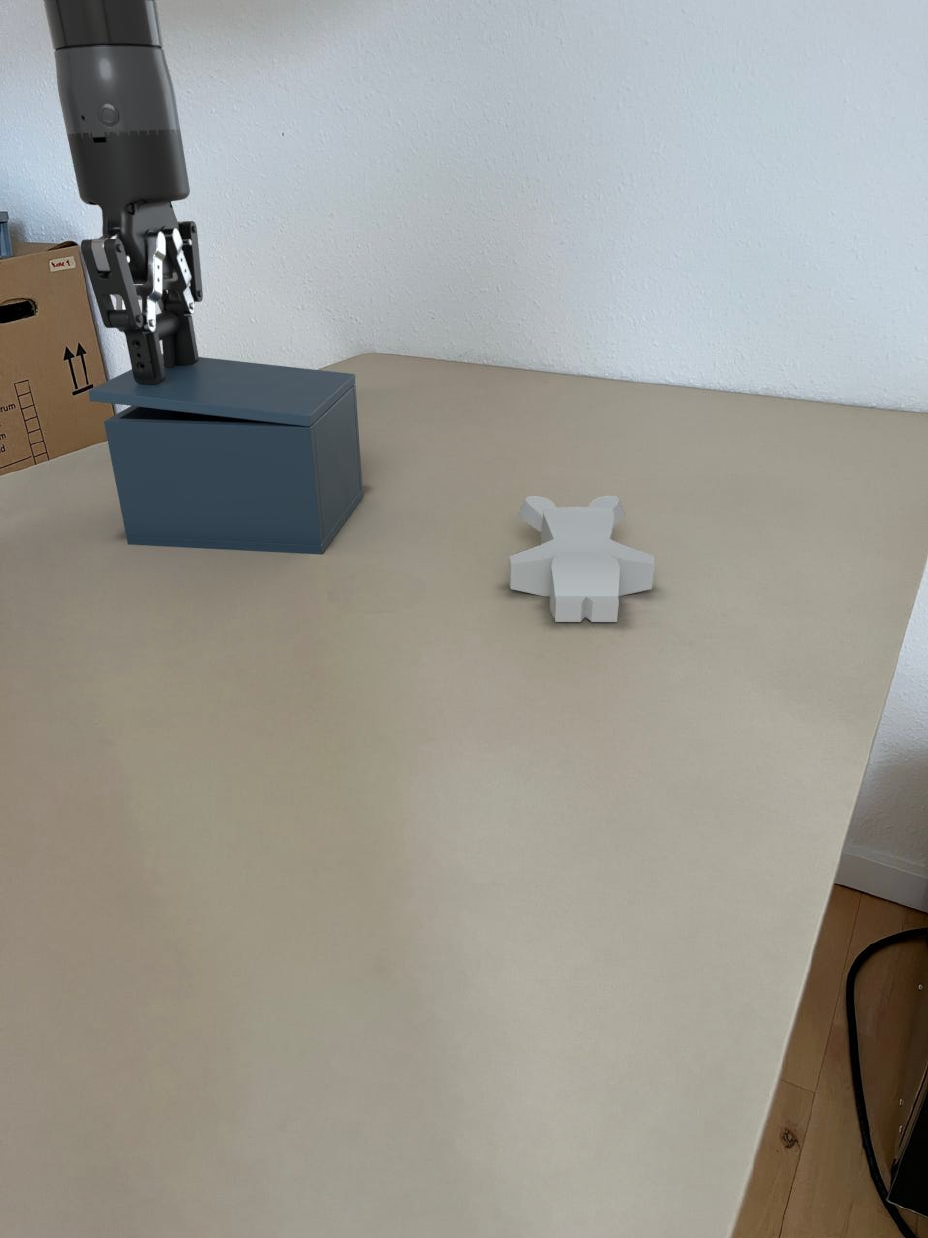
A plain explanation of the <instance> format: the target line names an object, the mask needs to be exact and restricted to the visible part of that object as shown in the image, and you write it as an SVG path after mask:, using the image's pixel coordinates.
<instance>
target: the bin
mask: <svg viewBox="0 0 928 1238" xmlns="http://www.w3.org/2000/svg"><path fill="white" fill-rule="evenodd" d="M358 415H359V414H358V401H357V386H356V384H354V385H353V386H352V387H351V388H350V389H349V390H348V391H347V392H346V393H345V394H344V395H342V396H341V397H340V398H339V399H338V400H337V401H336V402H335V403H334V404H333V405H332V406H331V407H330V408H329V409H328V410H327V411H326V412H324V413H323V414H322V415H321V416H320V417H319V418H318V419H317V420H316V421H315V422H314V423H313V424H312V425H311V426H309V427H308V426H300V425H291V424H283V423H274V422H266V421H257V420H249V419H240V418H231V417H223V416H214V415H206V414H197V413H189V412H180V411H172V410H163V409H154V408H146V407H137V406H129V407H127V408H125V409H123V410H121V411H119V412H118V413H116V414H114V415H112V416H111V417H109V418H107V419H105V420H103V425H104V430H105V434H106V435H105V436H106V439H107V445H108V450H109V455H110V461H111V465H112V472H113V475H114V480H115V486H116V489H117V496H118V501H119V506H120V512H121V517H122V521H123V527H124V532H125V536H126V537H125V538H126V542H127V545H128V546H131V545H132V546H149V547H167V548H168V547H169V548H184V549H185V548H187V549H206V550H226V551H246V552H264V553H283V554H300V555H301V554H304V555H321V556H322V555H323V554H324V553H325V551H326V550H327V549H328V547H329V546H330V545H331V543H332V541H334V539H335V538H336V536H337V535H338V533H339V532H340V530H341V529H342V527H343V526H344V524H346V522H347V521H348V519H349V517H350V516H351V515H352V513H353V512H354V511H355V509H356V508H357V506H358V505H359V504H360V502H361V501H362V499H363V498H364V490H363V475H362V474H363V473H362V461H361V446H360V431H359V417H358Z"/></svg>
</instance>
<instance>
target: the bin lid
mask: <svg viewBox="0 0 928 1238" xmlns="http://www.w3.org/2000/svg"><path fill="white" fill-rule="evenodd" d="M179 328H180V322H179V319H178V317H177V316H176V315H175V314H174V313H172V312H169V311H164V312H162V313H161V312H160V313H156V328H155V331H158V336H159V342H161V345H162V347H161V348H162V358H163V364H164V369H165V374H166V379H165V381H163V382H162V383H160V384H157V385H142V384H138V383H137V382H136V381H135V380H134V376H133V371H132V368H131V369H128V370H127V371H125V372H123V373H120V374H119V375H117V376H115V377H113V378H111V379H109V380H107V381H105V382H103V383H100V384H99V385H96V386H95V387H92V388H90V389H89V390H88V396H89V397H88V398H89V401H90V402H94V403H104V404H112V405H119V406H120V405H121V406H129V407H130V406H137V407H146V408H154V409H163V410H172V411H180V412H189V413H197V414H206V415H214V416H223V417H231V418H240V419H249V420H257V421H266V422H274V423H283V424H291V425H300V426H308V427H309V426H311V425H312V424H313V423H314V422H315V421H316V420H317V419H318V418H319V417H320V416H321V415H322V414H323V413H324V412H326V411H327V410H328V409H329V408H330V407H331V406H332V405H333V404H334V403H335V402H336V401H337V400H338V399H339V398H340V397H341V396H342V395H344V394H345V393H346V392H347V391H348V390H349V389H350V388H351V387H352V386H353V385H356V373H348V372H341V371H330V370H322V369H311V368H304V367H294V366H285V365H276V364H267V363H258V362H248V361H240V360H239V361H238V360H232V359H231V360H230V359H223V358H222V359H221V358H214V357H205V356H204V357H203V356H199V360H198V362H197V363H195V364H193V365H175V354H174V340H173V335H174V334H176V333H177V332H178V331H179Z"/></svg>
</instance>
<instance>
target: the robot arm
mask: <svg viewBox="0 0 928 1238" xmlns="http://www.w3.org/2000/svg"><path fill="white" fill-rule="evenodd" d="M42 1H43V5H44V9H45V15H46V19H47V24H48V29H49V34H50V39H51V43H52V48H53V56H54V61H55V72H56V83H57V91H58V92H57V93H58V97H59V98H58V99H59V102H60V107H61V113H62V117H63V122H64V127H65V132H66V136H67V141H68V145H69V151H70V156H71V160H72V165H73V170H74V176H75V180H76V185H77V189H78V194H79V198H80V200H81V201H82V202H83V203H85V204H86V205H89V206H98V207H99V208H100V209H101V219H102V220H101V221H102V227H101V229H102V230H101V233H102V235H101V236H99V237H98V238H90V239H89V238H86V239H85V238H84V239H82V240H81V242H80V251H81V255H82V257H83V261H84V265H85V268H86V271H87V275H88V277H89V281H90V284H91V287H92V291H93V294H94V297H95V301H96V304H97V307H98V310H99V311H98V312H99V314H100V317H101V320H102V324H103V326H104V328H106V329H117V330H118V331H119V332H120V333H123V334H124V336H125V341H126V345H127V351H128V355H129V361H130V367H131V369H132V371H133V376H134V380H135V381H136V382H137V383H138V384H142V385H157V384H160V383H162V382H163V381H165V379H166V374H165V369H164V364H163V358H162V354H163V352H162V347H161V341H159V336H158V331H155V328H156V315H157V305H158V308H159V311H160V313H162V312H164V311H169V312H172V313H174V314H175V315H176V316H177V317H178V319H179V322H180V328H179V331H178V332H177V333H176V334H174V335H173V340H174V354H175V365H193V364H195V363H197V362H198V360H199V357H200V356H199V350H198V343H197V339H196V334H195V326H194V321H193V315H194V314H195V313H196V303H201V302H202V301H203V299H204V292H203V282H202V281H203V280H202V269H201V259H200V247H199V237H198V227H197V223H196V222H195V221H194V220H183V221H182V220H181V221H180V220H179V221H178V219H177V216H176V214H175V211H174V206H173V204H172V202H176V201H182V200H185V199H187V198H188V197H189V196H190V193H191V188H190V182H189V177H188V169H187V163H186V157H185V151H184V144H183V138H182V133H181V132H182V131H181V125H180V119H179V112H178V106H177V105H178V104H177V100H176V99H177V98H176V94H175V89H174V83H173V80H172V76H171V73H170V70H169V67H168V62H167V58H166V53H165V50H164V49H163V48H164V43H163V36H162V29H161V22H160V18H159V10H158V3H157V0H42ZM112 296H113V297H114V298H115V306H114V302H113V299H112ZM139 301H141V305H140V302H139Z"/></svg>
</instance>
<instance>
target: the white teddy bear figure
mask: <svg viewBox="0 0 928 1238" xmlns="http://www.w3.org/2000/svg"><path fill="white" fill-rule="evenodd" d="M517 515H518V517H519V518H520V519H521V520H523V521H524V522H525V523H526V524H528V525H530V526H531V527H533V528H534V529H535V530H536V531H538V532H540V539H541V540H540V541H541V542H540V543H541V544H539V545H536V546H534V547H531V548H528V549H525V550H523V551H520V552H518V553H515V554H512V555H509V572H508V573H509V575H508V577H509V584H508V585H509V588H510V590H514V591H519V592H523V593H527V594H532V595H537V596H540V597H541V596H542V597H549V610H550V613H551V615H552V618H553V619H554V622H555V623H582V621H583V620H584V619H585V618H586V619H587V620H588V621H590V622H591V623H617V622H618V617H619V616H618V615H619V606H620V605H619V604H620V600H619V599H620V598H619V597H623V596H626V595H630V594H635V593H640V592H645V591H649V590H652V589H653V583H654V573H655V563H656V562H655V561H656V560H655V556H654V555H652V554H650V553H646V552H644V551H642V550H638V549H636V548H632V547H630V546H627V545H624V544H622V543H620V542H618V541H615V540H613V537H614V536H613V535H614V528H615V527H616V526H617V525H618V524H619V523H620V522H621V521H622V520H623V519H624V518H626V517H625V516H626V512H625V509H624V506H623V503H622V501H621V498H619V497H617V496H616V495H602V496H597V497H595V498H594V499H593V500H591V501H590V503H589V504H588V506H562V507H560V506H559V507H557V505H556V504H555V502H553V501H552V500H551V499H549V498H548V497H544V496H541V495H529V496H527V497H525V498H524V500H523V503H522V504H521V506H520V509H519V511H518V514H517Z"/></svg>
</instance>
